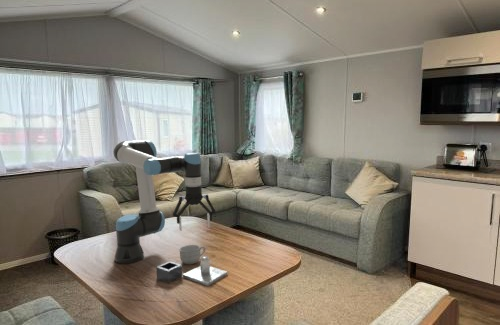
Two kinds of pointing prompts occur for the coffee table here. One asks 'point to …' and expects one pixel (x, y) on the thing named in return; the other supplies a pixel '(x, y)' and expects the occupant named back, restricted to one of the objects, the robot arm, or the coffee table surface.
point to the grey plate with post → (205, 273)
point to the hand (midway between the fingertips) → (194, 228)
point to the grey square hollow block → (169, 272)
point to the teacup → (190, 253)
